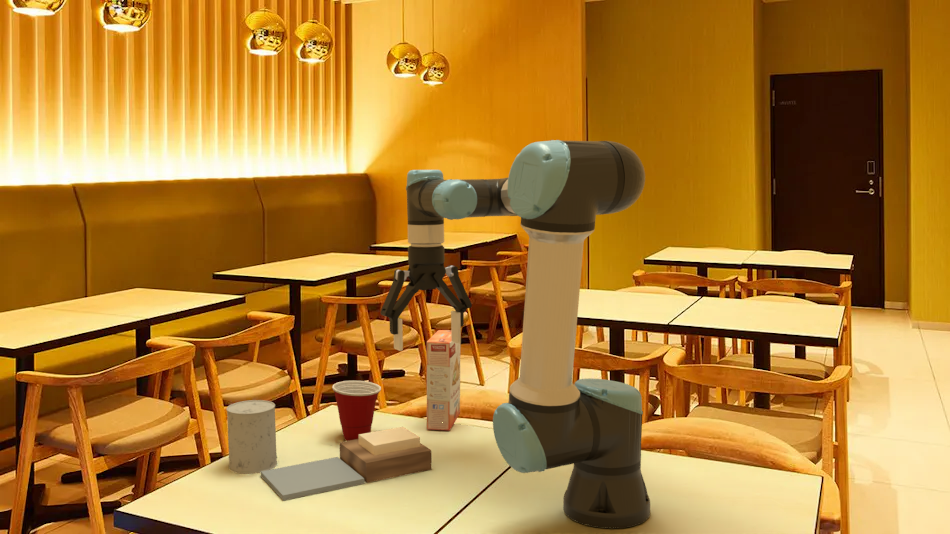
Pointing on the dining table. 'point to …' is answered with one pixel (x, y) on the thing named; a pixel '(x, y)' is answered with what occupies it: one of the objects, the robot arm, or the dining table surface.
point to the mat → (311, 478)
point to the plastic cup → (356, 406)
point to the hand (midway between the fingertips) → (427, 345)
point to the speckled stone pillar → (251, 436)
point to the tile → (389, 440)
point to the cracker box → (442, 381)
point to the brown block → (384, 461)
